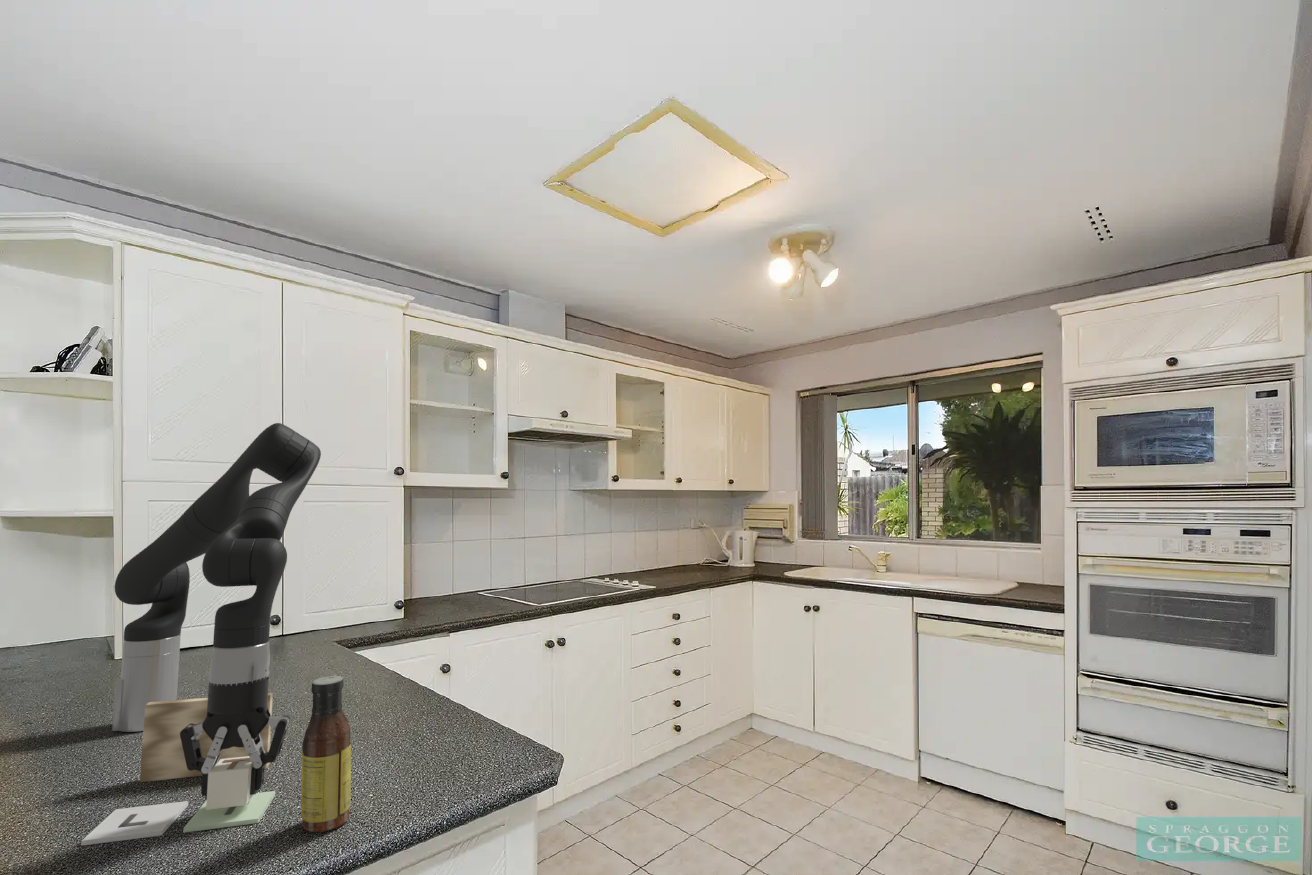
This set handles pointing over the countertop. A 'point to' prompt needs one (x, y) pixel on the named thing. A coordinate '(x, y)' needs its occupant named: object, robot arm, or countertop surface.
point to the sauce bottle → (326, 759)
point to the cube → (229, 783)
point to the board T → (230, 814)
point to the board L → (135, 823)
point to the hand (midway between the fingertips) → (232, 794)
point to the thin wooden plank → (165, 743)
